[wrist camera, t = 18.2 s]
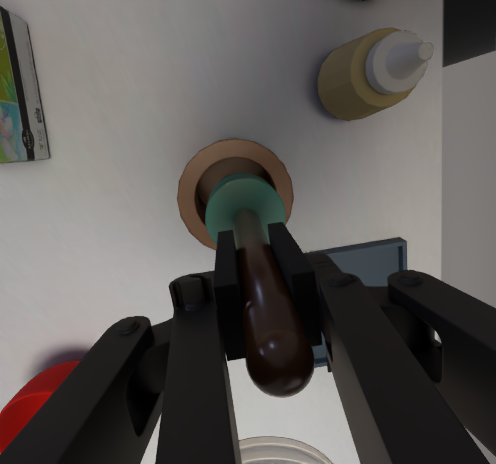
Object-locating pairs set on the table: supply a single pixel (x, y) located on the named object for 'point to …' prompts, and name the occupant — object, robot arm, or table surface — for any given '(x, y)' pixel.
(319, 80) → the squeeze bottle
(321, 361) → the tray
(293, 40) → the table surface
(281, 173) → the wooden jar
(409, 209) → the table surface
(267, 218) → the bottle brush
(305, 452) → the plate stack
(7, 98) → the tea box
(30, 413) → the ceramic cup
